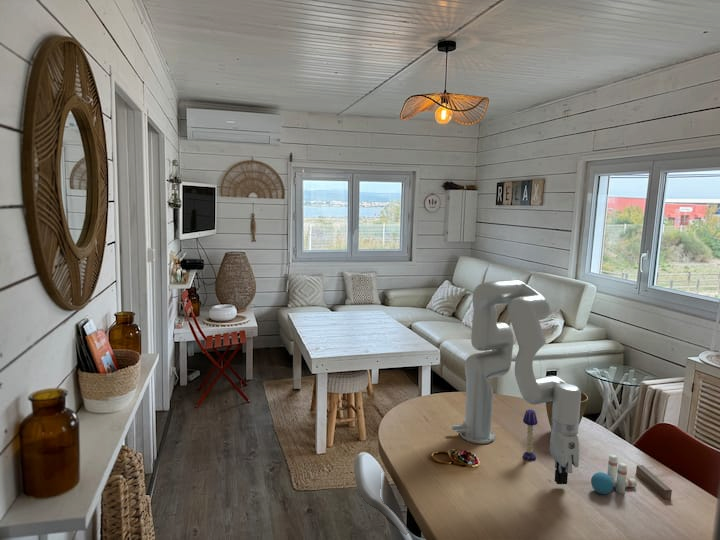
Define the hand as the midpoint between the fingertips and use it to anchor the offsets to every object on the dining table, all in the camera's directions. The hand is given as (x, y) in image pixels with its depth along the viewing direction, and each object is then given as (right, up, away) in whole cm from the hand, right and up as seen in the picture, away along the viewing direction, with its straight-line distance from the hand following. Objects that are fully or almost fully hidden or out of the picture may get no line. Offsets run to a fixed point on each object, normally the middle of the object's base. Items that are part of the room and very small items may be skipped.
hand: (560, 482), depth 152 cm
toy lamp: (-4, +1, +18) cm, 18 cm away
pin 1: (+17, -1, +4) cm, 18 cm away
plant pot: (+15, +3, +36) cm, 39 cm away
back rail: (+29, -2, +2) cm, 29 cm away
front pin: (+14, 0, +1) cm, 15 cm away
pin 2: (+17, -2, -1) cm, 18 cm away
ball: (+11, +1, -3) cm, 12 cm away
